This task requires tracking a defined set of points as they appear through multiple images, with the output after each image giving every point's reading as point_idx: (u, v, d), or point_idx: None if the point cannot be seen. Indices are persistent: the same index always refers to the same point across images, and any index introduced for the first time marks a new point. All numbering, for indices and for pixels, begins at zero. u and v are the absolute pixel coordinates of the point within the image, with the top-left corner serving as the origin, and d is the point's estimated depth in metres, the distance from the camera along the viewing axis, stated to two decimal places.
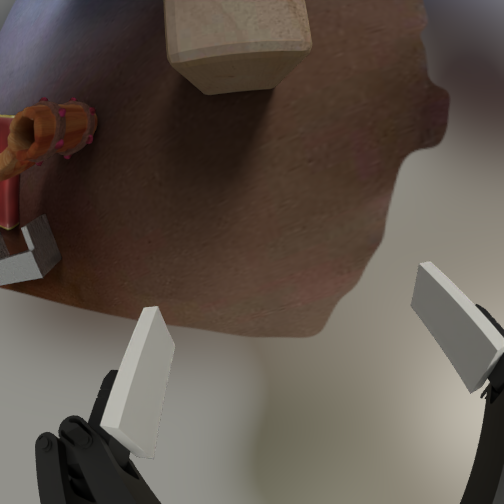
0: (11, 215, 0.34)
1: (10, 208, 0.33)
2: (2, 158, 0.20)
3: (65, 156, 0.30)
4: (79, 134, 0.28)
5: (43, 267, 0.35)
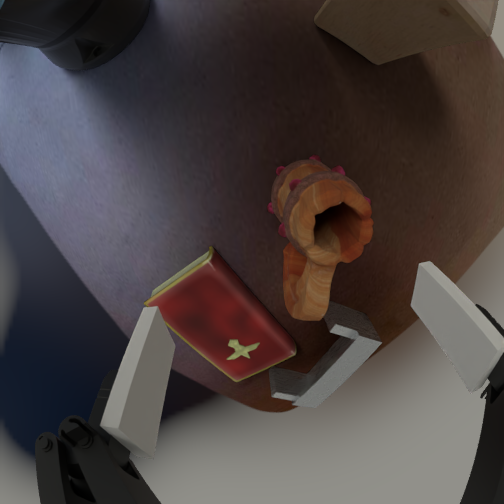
0: (287, 340, 0.40)
1: (282, 335, 0.39)
2: (317, 286, 0.22)
3: None
4: None
5: (373, 335, 0.36)
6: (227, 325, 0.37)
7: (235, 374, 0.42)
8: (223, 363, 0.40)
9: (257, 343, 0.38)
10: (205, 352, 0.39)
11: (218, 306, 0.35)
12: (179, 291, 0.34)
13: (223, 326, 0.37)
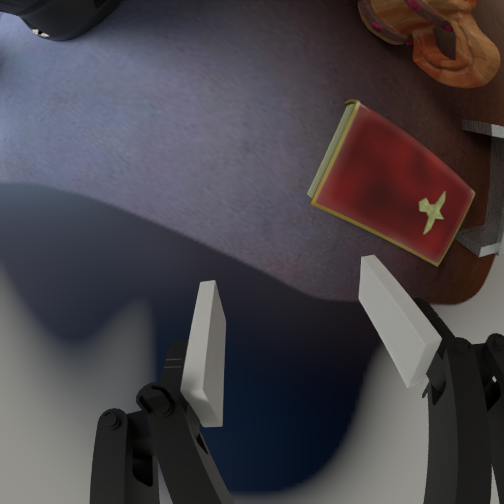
0: None
1: None
2: (475, 31, 0.09)
3: None
4: None
5: None
6: (410, 182, 0.25)
7: (435, 254, 0.29)
8: (421, 244, 0.29)
9: (443, 193, 0.26)
10: (400, 238, 0.28)
11: (393, 159, 0.24)
12: (346, 159, 0.24)
13: (407, 185, 0.25)
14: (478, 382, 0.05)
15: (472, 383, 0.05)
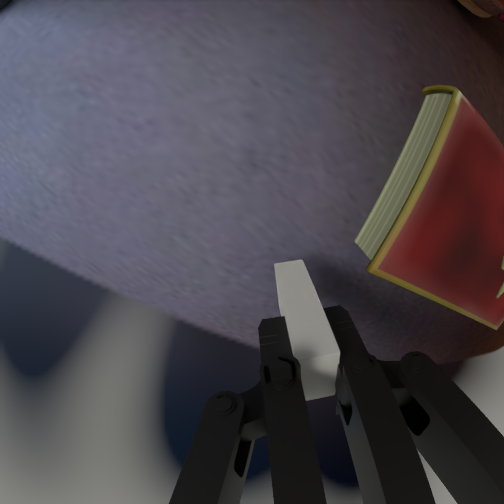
0: None
1: None
2: None
3: None
4: None
5: None
6: (502, 229, 0.13)
7: (499, 317, 0.17)
8: (490, 309, 0.16)
9: None
10: (473, 306, 0.16)
11: (491, 195, 0.12)
12: (437, 192, 0.12)
13: (498, 234, 0.13)
14: (390, 399, 0.06)
15: (383, 402, 0.06)
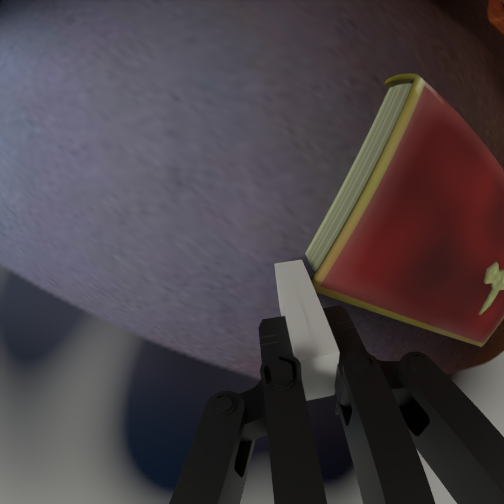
0: None
1: None
2: None
3: None
4: None
5: None
6: (484, 239, 0.12)
7: (483, 334, 0.16)
8: (472, 326, 0.16)
9: None
10: (450, 324, 0.15)
11: (469, 200, 0.11)
12: (392, 199, 0.11)
13: (479, 245, 0.12)
14: (390, 399, 0.06)
15: (382, 402, 0.06)
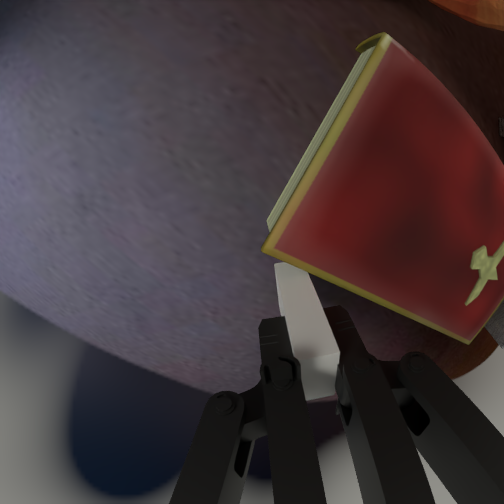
0: None
1: None
2: None
3: None
4: None
5: None
6: (469, 216, 0.11)
7: (470, 329, 0.16)
8: (457, 318, 0.15)
9: None
10: (431, 312, 0.14)
11: (448, 167, 0.10)
12: (355, 153, 0.10)
13: (463, 222, 0.12)
14: (390, 399, 0.06)
15: (383, 402, 0.06)
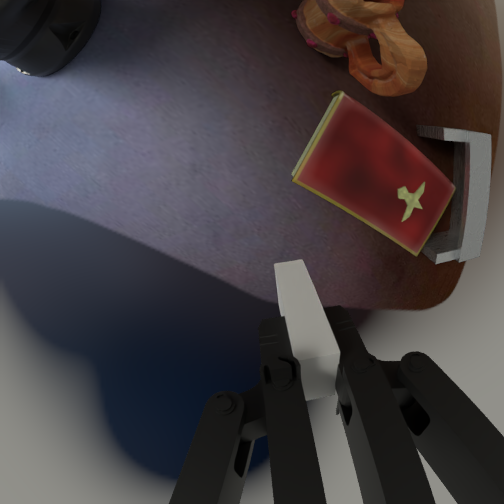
0: None
1: None
2: (397, 35, 0.13)
3: None
4: None
5: (479, 132, 0.23)
6: (389, 170, 0.28)
7: (413, 243, 0.32)
8: (399, 231, 0.31)
9: (422, 183, 0.28)
10: (379, 222, 0.31)
11: (373, 146, 0.27)
12: (328, 142, 0.26)
13: (386, 172, 0.28)
14: (390, 399, 0.06)
15: (383, 402, 0.06)
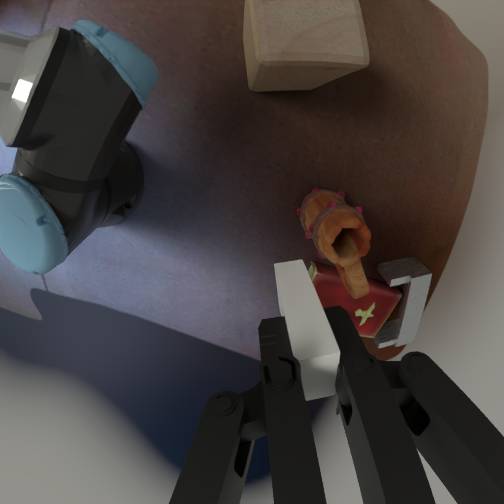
0: (391, 289, 0.49)
1: (386, 288, 0.48)
2: (356, 276, 0.33)
3: None
4: None
5: (423, 271, 0.43)
6: (348, 303, 0.48)
7: (370, 332, 0.52)
8: (358, 329, 0.52)
9: (373, 303, 0.49)
10: None
11: (336, 295, 0.47)
12: None
13: (346, 305, 0.49)
14: (390, 399, 0.06)
15: (383, 402, 0.06)
